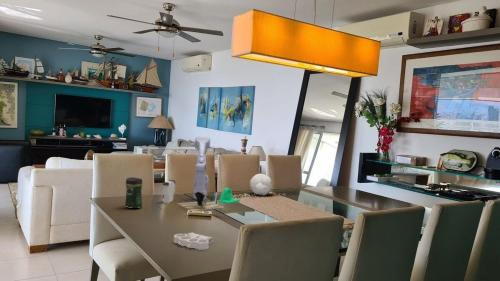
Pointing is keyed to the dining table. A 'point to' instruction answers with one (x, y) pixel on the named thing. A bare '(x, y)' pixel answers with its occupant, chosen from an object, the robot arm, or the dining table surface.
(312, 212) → the dining table surface
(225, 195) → the camera mount
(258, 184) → the decorative orb
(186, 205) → the base plate
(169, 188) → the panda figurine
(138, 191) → the coffee jar
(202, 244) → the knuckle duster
